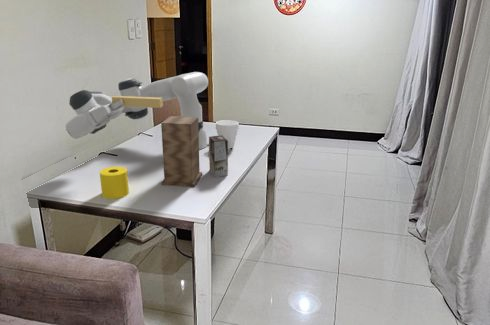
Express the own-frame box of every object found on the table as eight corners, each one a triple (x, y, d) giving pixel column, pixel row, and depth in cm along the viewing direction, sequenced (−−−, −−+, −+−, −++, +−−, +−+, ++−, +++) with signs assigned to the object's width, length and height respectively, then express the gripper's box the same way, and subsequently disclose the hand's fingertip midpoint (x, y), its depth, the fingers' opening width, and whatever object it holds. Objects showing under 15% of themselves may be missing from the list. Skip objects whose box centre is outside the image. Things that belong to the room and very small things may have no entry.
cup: (239, 144, 222) (240, 120, 217) (237, 151, 210) (237, 125, 206) (217, 143, 223) (217, 119, 218) (213, 150, 211) (213, 125, 207)
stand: (161, 184, 166) (157, 123, 157) (171, 172, 179) (168, 115, 171) (194, 186, 164) (192, 124, 156) (202, 174, 178) (201, 116, 169)
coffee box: (228, 175, 177) (228, 140, 172) (214, 177, 175) (214, 141, 170) (222, 168, 185) (222, 135, 180) (208, 170, 183) (208, 136, 178)
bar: (112, 105, 163) (111, 97, 162) (116, 104, 166) (115, 95, 165) (160, 107, 161) (159, 99, 160) (162, 106, 164) (162, 97, 163)
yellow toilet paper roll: (113, 187, 163) (111, 165, 160) (134, 190, 160) (132, 168, 157) (96, 196, 154) (93, 173, 151) (117, 200, 151) (115, 177, 148)
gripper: (114, 116, 177) (139, 102, 174) (91, 127, 158) (119, 111, 155) (106, 103, 176) (131, 89, 172) (82, 113, 157) (110, 97, 153)
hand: (125, 99), depth 163 cm, fingers closed on bar, 3 cm apart
